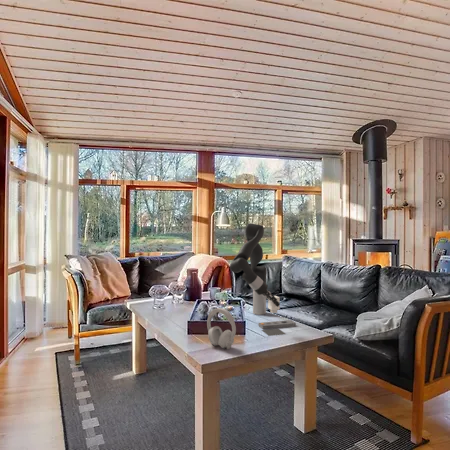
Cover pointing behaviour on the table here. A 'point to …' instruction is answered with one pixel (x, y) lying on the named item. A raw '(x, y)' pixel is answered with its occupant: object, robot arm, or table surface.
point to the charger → (273, 305)
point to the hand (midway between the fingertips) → (276, 304)
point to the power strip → (276, 324)
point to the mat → (273, 332)
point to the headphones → (216, 333)
